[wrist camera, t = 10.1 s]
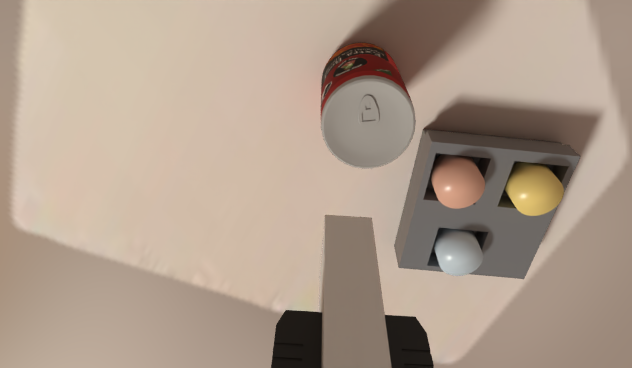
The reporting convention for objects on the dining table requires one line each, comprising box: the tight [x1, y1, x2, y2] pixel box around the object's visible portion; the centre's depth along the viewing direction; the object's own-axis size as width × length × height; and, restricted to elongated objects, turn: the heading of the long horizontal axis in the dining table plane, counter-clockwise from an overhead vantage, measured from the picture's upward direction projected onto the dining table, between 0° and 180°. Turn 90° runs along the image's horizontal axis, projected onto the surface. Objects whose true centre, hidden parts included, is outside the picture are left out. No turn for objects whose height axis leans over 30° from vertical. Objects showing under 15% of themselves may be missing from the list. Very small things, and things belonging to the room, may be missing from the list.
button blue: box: [433, 228, 483, 276], centre depth 52 cm, size 5×5×4 cm
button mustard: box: [504, 161, 564, 216], centre depth 48 cm, size 5×5×4 cm
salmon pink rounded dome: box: [430, 154, 485, 209], centre depth 47 cm, size 5×5×4 cm
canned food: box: [321, 43, 416, 169], centre depth 41 cm, size 8×8×11 cm
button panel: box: [394, 129, 580, 279], centre depth 51 cm, size 16×15×4 cm
